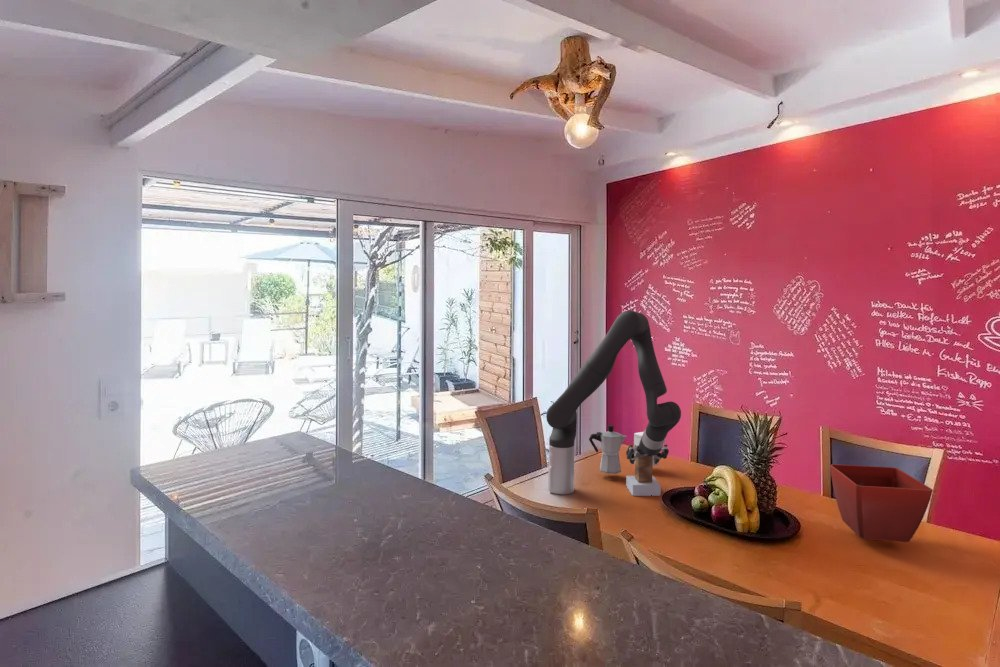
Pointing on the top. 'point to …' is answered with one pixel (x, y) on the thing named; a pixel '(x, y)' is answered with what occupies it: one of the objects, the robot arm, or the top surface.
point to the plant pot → (880, 501)
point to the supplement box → (637, 440)
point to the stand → (643, 487)
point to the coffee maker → (609, 449)
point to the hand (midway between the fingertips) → (643, 461)
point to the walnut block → (644, 469)
